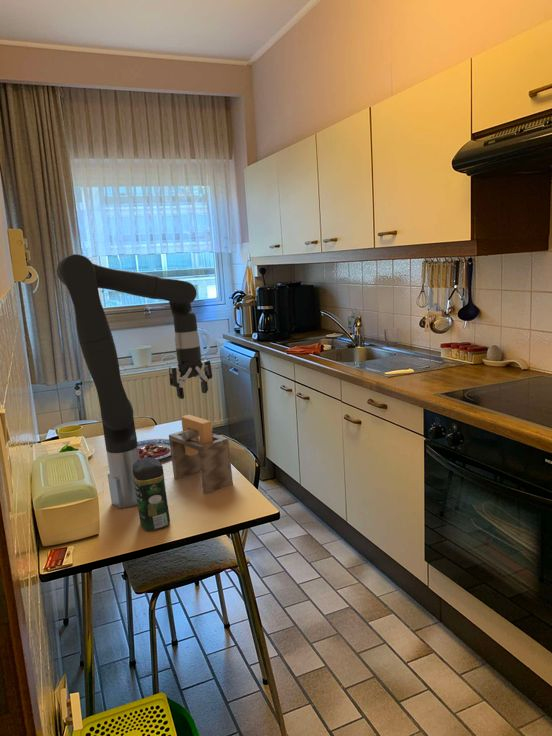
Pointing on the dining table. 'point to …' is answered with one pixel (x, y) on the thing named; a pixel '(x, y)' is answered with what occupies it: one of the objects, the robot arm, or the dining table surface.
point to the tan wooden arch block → (200, 426)
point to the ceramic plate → (154, 448)
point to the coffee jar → (151, 493)
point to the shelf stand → (202, 459)
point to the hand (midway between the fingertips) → (193, 395)
